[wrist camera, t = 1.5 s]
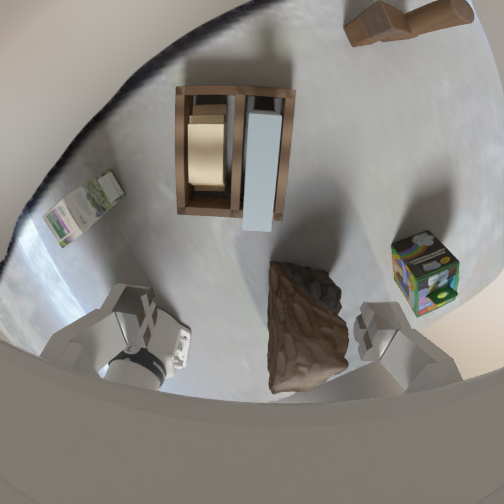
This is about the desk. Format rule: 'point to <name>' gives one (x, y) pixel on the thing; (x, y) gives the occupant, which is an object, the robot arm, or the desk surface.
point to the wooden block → (406, 21)
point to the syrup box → (83, 207)
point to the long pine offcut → (223, 110)
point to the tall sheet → (261, 169)
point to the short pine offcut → (206, 152)
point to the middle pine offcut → (208, 119)
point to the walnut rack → (235, 203)
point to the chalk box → (425, 272)
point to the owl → (303, 328)
